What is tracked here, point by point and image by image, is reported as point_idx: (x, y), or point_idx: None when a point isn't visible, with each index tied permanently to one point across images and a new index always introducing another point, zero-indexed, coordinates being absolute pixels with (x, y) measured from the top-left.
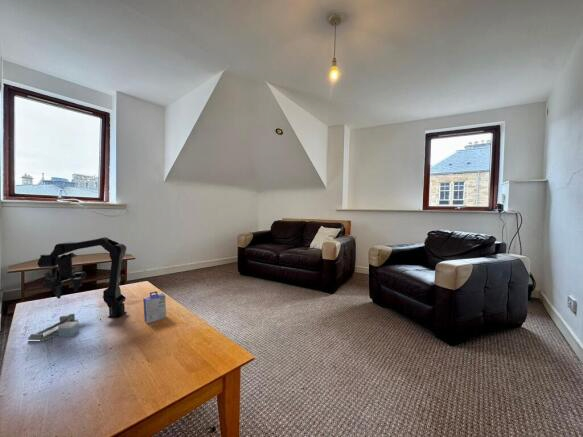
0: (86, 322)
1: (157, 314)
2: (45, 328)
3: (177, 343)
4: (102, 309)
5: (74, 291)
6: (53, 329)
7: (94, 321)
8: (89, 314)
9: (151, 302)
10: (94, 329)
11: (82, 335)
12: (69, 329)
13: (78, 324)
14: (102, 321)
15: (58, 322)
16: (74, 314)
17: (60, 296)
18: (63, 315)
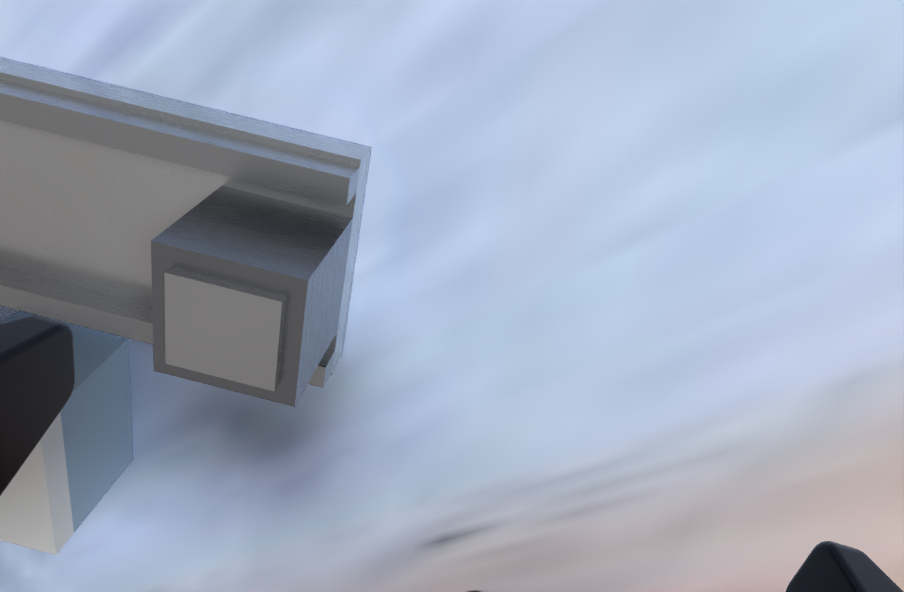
0: (368, 430)
1: None
2: (15, 96)
3: None
4: (850, 447)
5: (832, 559)
6: (81, 188)
7: (386, 501)
8: (675, 349)
9: None
10: (186, 565)
11: None
12: None
13: (74, 527)
14: (373, 572)
15: (225, 160)
16: (299, 397)
17: (4, 467)
18: (195, 287)
